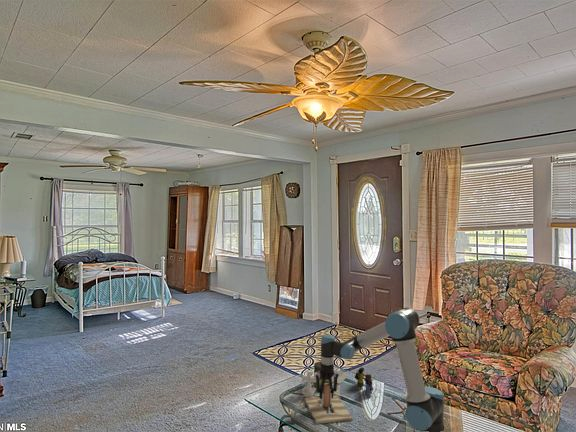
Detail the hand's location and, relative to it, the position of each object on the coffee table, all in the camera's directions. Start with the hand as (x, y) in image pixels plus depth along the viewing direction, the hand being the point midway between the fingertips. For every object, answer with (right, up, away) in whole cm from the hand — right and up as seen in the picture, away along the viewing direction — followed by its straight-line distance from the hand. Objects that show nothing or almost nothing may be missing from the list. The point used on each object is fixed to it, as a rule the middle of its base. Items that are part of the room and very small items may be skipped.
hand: (326, 403), depth 215 cm
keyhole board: (+1, -2, -3) cm, 4 cm away
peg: (0, -1, 0) cm, 1 cm away
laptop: (+11, -2, +39) cm, 41 cm away
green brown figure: (0, -2, +24) cm, 24 cm away
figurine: (-9, -2, +13) cm, 16 cm away
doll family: (+26, -3, +21) cm, 33 cm away
